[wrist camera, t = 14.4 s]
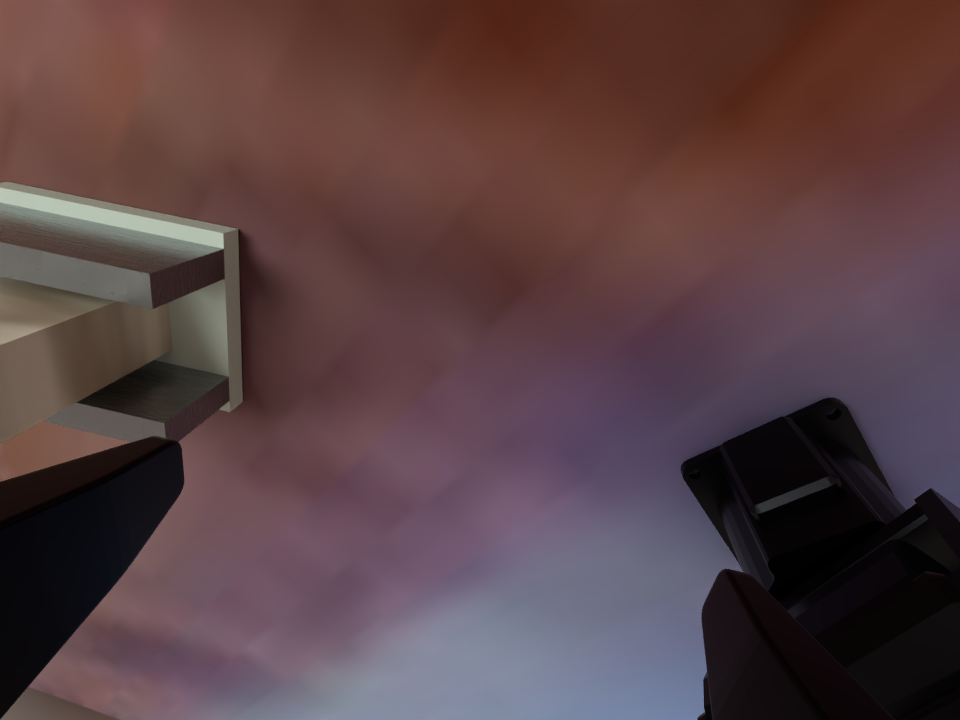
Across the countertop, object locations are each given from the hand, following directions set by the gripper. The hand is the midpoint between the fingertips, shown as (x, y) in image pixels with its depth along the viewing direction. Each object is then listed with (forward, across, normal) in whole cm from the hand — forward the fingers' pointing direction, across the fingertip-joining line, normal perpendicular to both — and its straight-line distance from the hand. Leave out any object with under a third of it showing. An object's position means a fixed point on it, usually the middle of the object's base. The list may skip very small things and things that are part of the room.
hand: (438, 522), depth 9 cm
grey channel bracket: (+13, +16, +4) cm, 21 cm away
